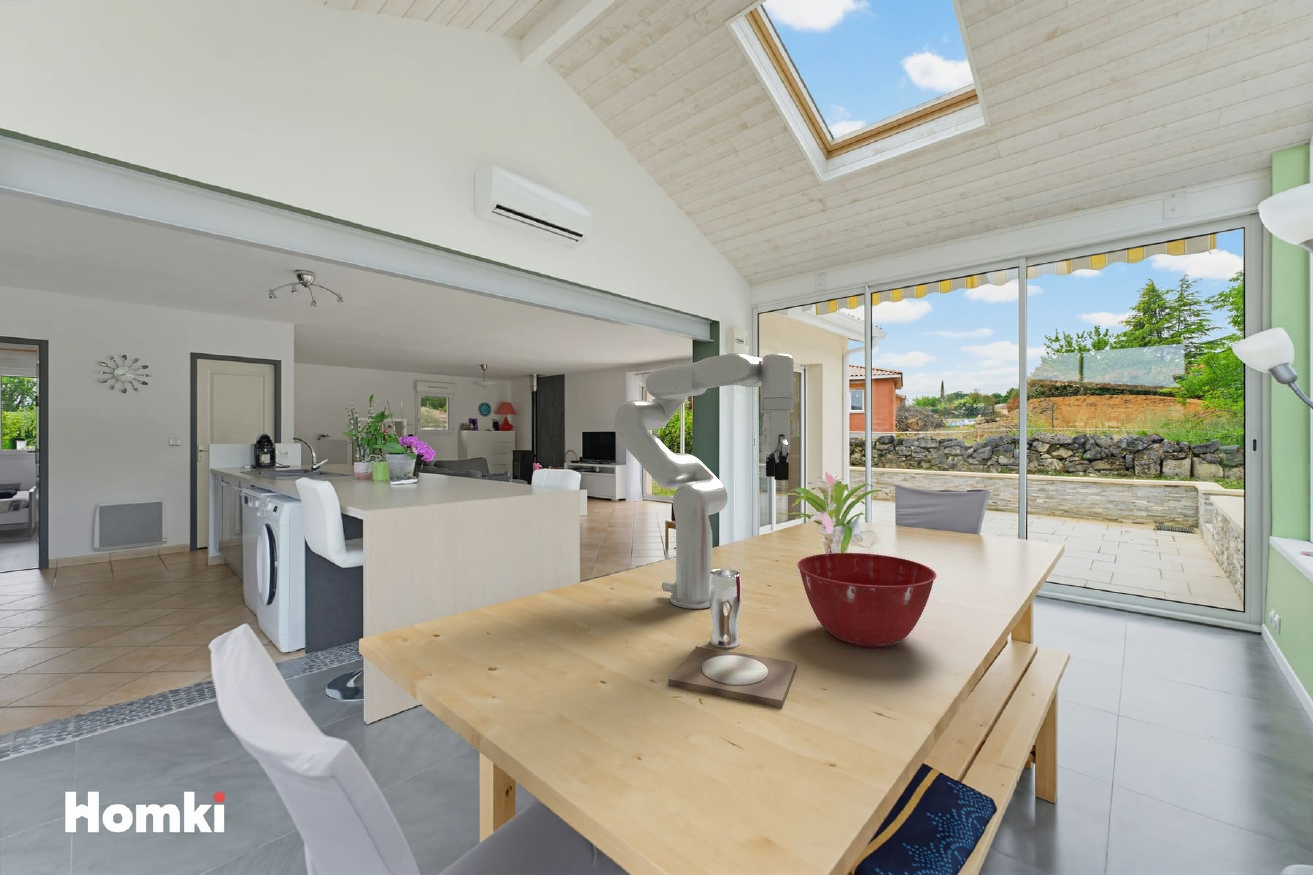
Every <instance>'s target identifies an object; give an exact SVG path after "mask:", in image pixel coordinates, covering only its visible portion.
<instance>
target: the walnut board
mask: <svg viewBox="0 0 1313 875" xmlns="http://www.w3.org/2000/svg"><path fill="white" fill-rule="evenodd" d="M797 666H798V663H797V662H796V661H790V660H785V659H784V660H783V659H779V658H773V657H772V658H771V657H766V656H759V655H752V654H748V653H743V652H742V653H740V652H735V651H734V652H733V651H729V650H728V651H727V650H722V649H715V648H709V647H703V646H697V645H696V646H695V648H693V650H692V651H691V652H690V653H689V654H688V655H687V656H686V657H685V659H684V660H683V661H682V662H681V663H680V664H679V666H678V667H677V668H676V669H675V671H673V673H672V674H671V675H670V676H669V677H668V678H667V685H668V687H669V686H670V687H674V688H677V689H678V688H679V689H684V690H688V691H689V690H690V691H694V692H700V693H704V694H709V695H715V696H719V697H720V696H721V697H724V698H731V699H735V700H741V701H746V702H750V703H756V704H761V705H766V706H770V707H771V706H772V707H776V708H780V709H782V708H783V707H784V705H785V701H786V699H787V696H788V693H789V690H790V688H791V685H792V683H793V680H794V677H795V675H796V672H797V668H798V667H797Z"/></svg>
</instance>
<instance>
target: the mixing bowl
mask: <svg viewBox="0 0 1313 875" xmlns="http://www.w3.org/2000/svg"><path fill="white" fill-rule="evenodd" d="M796 566H797V567H798V569H799V572H800V579H801V580H802V585H803V588H804V591H805V593H806V594H805V595H806V596H807V599H808V601H809V602H808V603H809V604H810V606H811V608H812V610H813V612H814V615H815V617H816V619H817V621H818V622H819V624H820V625H821V626H822V627H823V629H825V630H826V631H827V632H828V633H829V634H830V635H832V636H833V637H835V638H836V639H837V640H840V641H842V642H844V643H846V644H850V645H854V646H858V647H863V648H885V647H890V646H893V645H895V644H897V643H898V642H901V641H903V640H904V639H905V638H906V637H908V636H909V635H910V634H911V633H912V631H913V630H914V629H915V627H916V625H917V624H918V622H919V620H920V618H921V617H922V614H923V612H924V610H925V608H926V605H927V604H928V600H929V597H930V594H931V591H932V588H933V584H934V581H935V580H936V578H937V572H936V571H935V570H933V569H932V568H930V567H929V566H927V565H925V564H922V563H919V562H917V561H913V560H910V559H905V558H903V557H902V558H901V557H896V556H890V555H883V554H874V553H861V552H832V553H831V552H829V553H828V552H827V553H819V554H814V555H810V556H805V557H803V558H802V559H800V560H799V561H797V564H796Z"/></svg>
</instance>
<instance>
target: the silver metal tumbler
mask: <svg viewBox="0 0 1313 875" xmlns="http://www.w3.org/2000/svg"><path fill="white" fill-rule="evenodd" d="M742 590H743V587H742V573H741V571H739V570H735V569H731V568H717V569H712V571H710V578H709V604H710V607H709V609H710V615H711V622H712V630H711V631H712V632H711V637H710V645H712V646H714V647H717V648H719V649H732V648H737V647H738V646H739V645H740V639H739V638H740V637H739V633H738V632H739V631H738V624H739V616H740V612H741V604H742V593H743V591H742Z"/></svg>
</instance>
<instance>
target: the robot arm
mask: <svg viewBox="0 0 1313 875" xmlns="http://www.w3.org/2000/svg"><path fill="white" fill-rule="evenodd" d="M794 363H795V362H794V358H793V357H792V355H790V354H788V353H770V354H765V355H764V356H763V357H756V356H751V355H749V354H743V353H737V352H736V353H727V354H720V355H715V356H710V357H706V358H703V359H700V360H698V361H696V362H690V363H685V364H682V365H681V364H680V365H673V366H667V367H662V368H657V369H655V370H653V371H651V372H649V374H648V375H647V377H646V380H645V388H646V391H647V393H648V394H649V395H650V396H651V397H652V398H653V399H652V400H643V399H641V400H640V399H633V400H632V399H631V400H627V401H625V402H622V403H621V404H620V405H619V406H618V407H617V408H616V410H615V413H614V420H613V422H614V431H615V433H616V436H617V438H618V440H619V442H620V443H621V444H622V446H623V447H624V448H625V449H626V450H627V451H628V453H630V454H631V455H632V457H634V459H635V460H636V461H637V462H638V463H639V464H640V465H641V467H642V468H644V470H645V471H646V472H647V474H648V475H649V476H650V477H651V478H652V479H653V480H654V481H655V482H656V484H658V485H659V486H660V487H661V488H663V489H668V490H671V489H676V490H675V492H674V494H673V496H672V508H673V514H674V519H675V520H674V521H675V548H676V549H675V582H674V581H673V583H671V582H667V581H663V582H661V589H662V591H663V592H667V593H668V592H670V593H671V594H670V596H669V602H670V603H671V604H672V605H674V606H676V607H679V608H684V609H692V610H694V609H695V610H696V609H697V610H698V609H699V610H700V609H707V608H710V604H709V578H710V571H712V570H713V531H712V530H713V529H712V526H711V522H710V518H709V516H710V515H715V514H717V513H720V512H721V511H723V510H724V509H725V507H726V506H727V504H728V499H729V498H728V492H727V491H728V490H727V489H726V487H725V486H724V485H723V484H724V483H722V482H721V481H720V480H719V478H718V477H717V476H716V475H715V474H714V473H713V472H712V471H711V470H710V469H709V468H708V467H707V465H705V464H704V463H703V462H702V461H701V460H700V459H699V458H697V456H695V455H692V454H690V453H686V452H685V453H683V452H680V453H679V452H678V453H676V452H673V451H672V450H670V449H669V447H667V446H666V445H665V443H663V442H662V441H661V439H660V438H658V437H657V436H655V434H653V433H651V431H658V430H660V429H663V428H664V427H665V426H667V425H668V423H669V422H670V421H671V420H672V419H673V417H674V416H675V415H676V413H678V411H679V409H680V408H681V407H682V406H683V404H684V403H685V402H686V400H687V398H688V397H694V396H695V397H696V396H701V395H704V394H705V392H706V391H707V390H708V389H713V388H718V387H726V386H740V387H746V388H758V387H761V388H760V391H761V392H760V393H761V394H760V395H761V396H760V397H761V398H760V399H761V400H760V402H761V403H760V413H762V414H763V413H764V414H763V422H762V438H761V439H762V443H761V444H762V445H761V451H762V453H764V454H765V476H766V477H768V478H772V477H773V479H774V481H789V479H790V478H789V473H790V471H789V470H790V469H789V468H790V464H789V462H790V460H789V453H790V451H791V418H790V414H791V413H794V379H795V378H794V373H795V372H794V366H795V365H794Z"/></svg>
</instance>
